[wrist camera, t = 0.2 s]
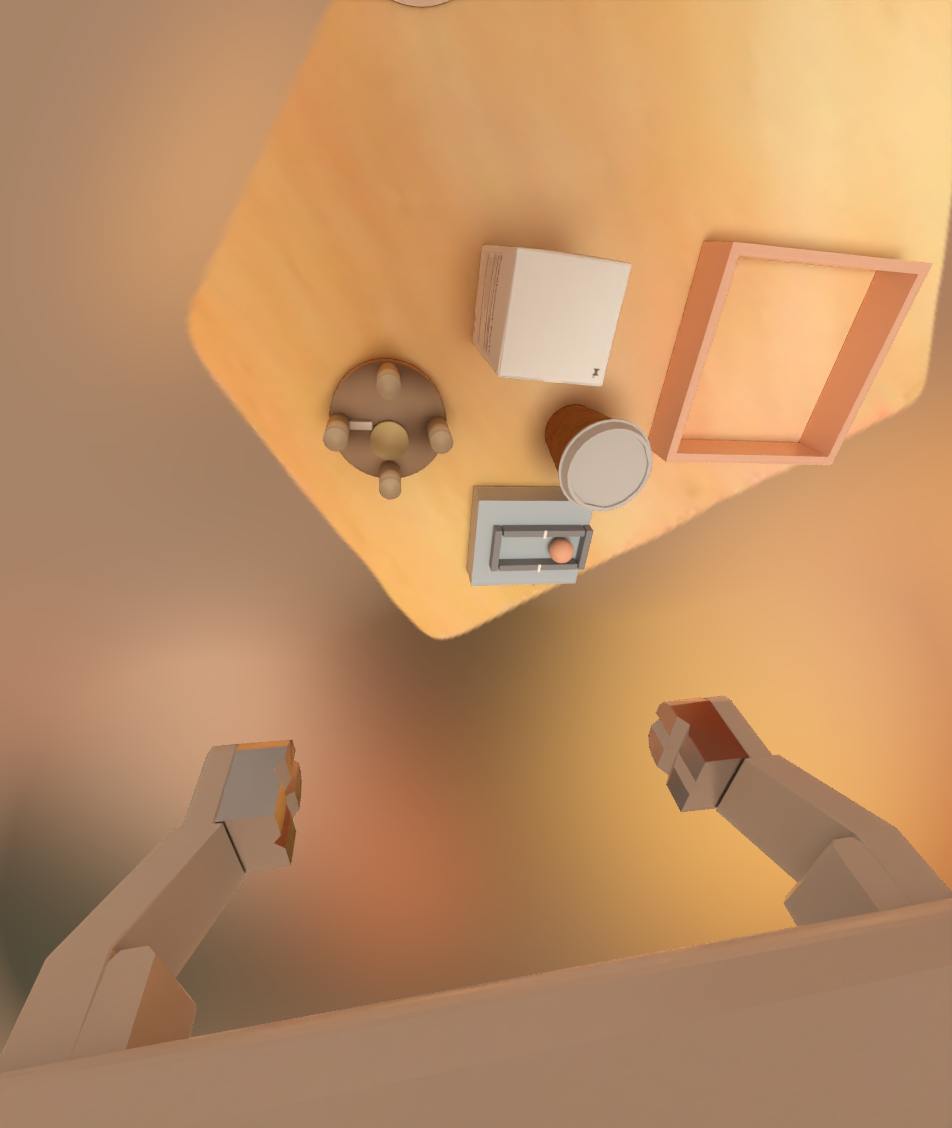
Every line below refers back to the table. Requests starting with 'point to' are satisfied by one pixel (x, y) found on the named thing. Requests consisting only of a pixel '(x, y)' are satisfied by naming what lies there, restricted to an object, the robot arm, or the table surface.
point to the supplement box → (547, 313)
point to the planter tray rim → (846, 379)
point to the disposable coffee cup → (598, 457)
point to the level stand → (524, 536)
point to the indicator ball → (561, 550)
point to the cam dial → (387, 422)
